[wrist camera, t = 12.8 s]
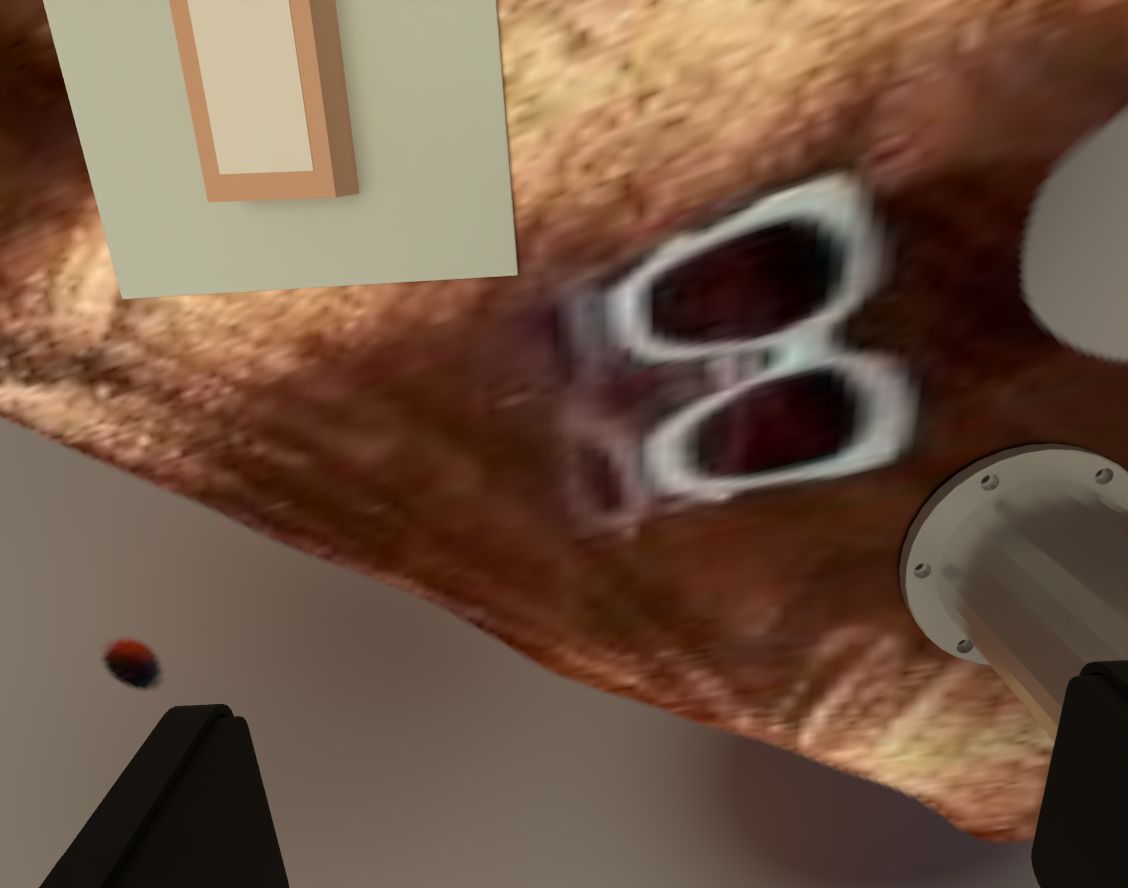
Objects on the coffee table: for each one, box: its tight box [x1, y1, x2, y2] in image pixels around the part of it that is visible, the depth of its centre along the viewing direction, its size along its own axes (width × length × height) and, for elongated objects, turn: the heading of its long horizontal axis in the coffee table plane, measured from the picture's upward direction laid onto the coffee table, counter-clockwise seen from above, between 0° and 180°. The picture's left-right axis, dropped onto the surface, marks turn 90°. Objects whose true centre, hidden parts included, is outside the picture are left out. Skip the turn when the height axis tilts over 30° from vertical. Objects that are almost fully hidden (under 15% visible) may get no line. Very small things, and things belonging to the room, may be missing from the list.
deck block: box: [169, 0, 359, 202], centre depth 30 cm, size 8×5×4 cm, turn 2°
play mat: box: [43, 0, 518, 299], centre depth 32 cm, size 18×16×1 cm
